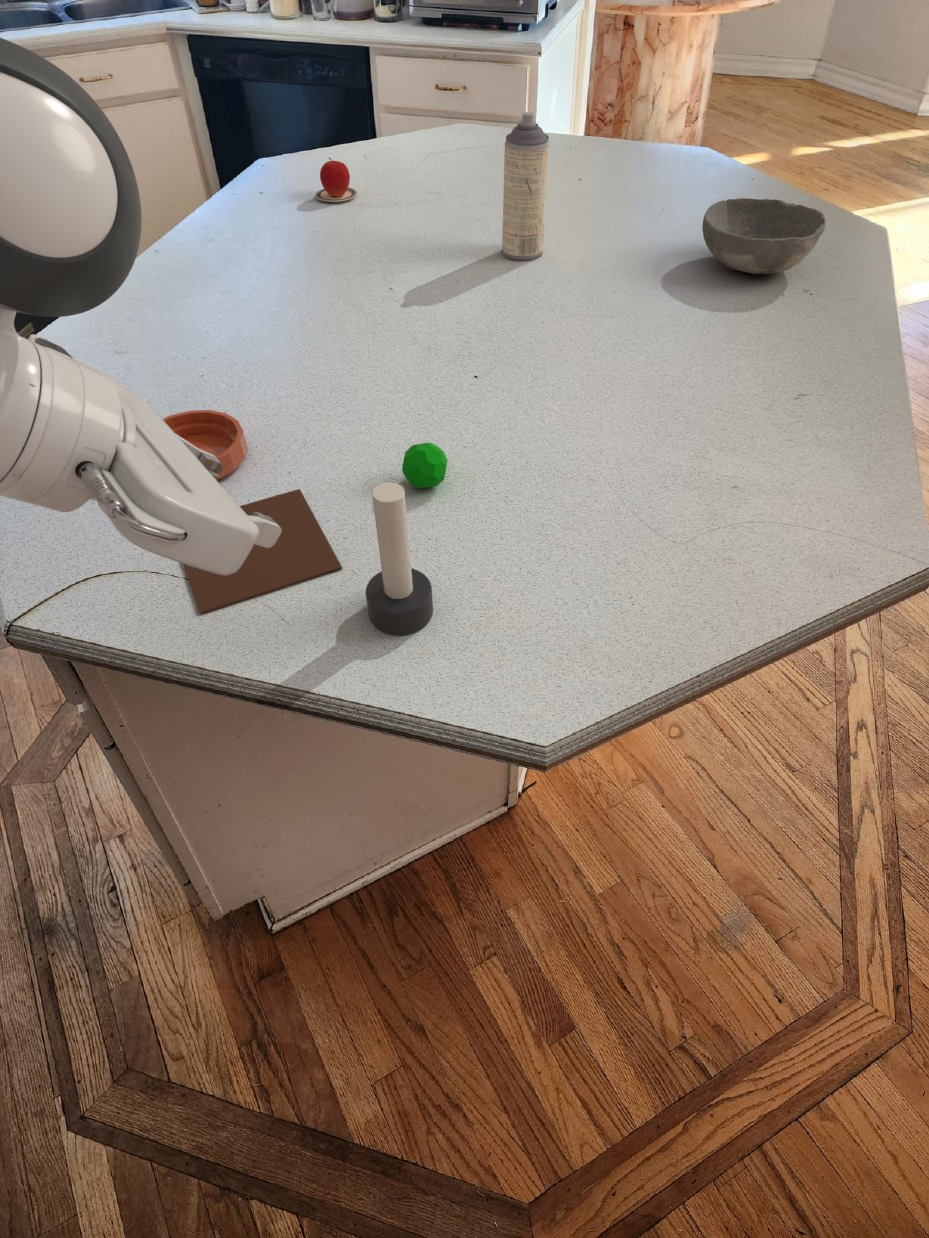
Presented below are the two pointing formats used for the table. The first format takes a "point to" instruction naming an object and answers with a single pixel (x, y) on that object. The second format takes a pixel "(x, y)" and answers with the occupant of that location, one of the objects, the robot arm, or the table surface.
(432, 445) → the polyhedron
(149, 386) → the table surface
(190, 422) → the dish
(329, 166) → the apple
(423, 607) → the brush
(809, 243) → the bowl
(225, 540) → the robot arm
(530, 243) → the aerosol can
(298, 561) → the board
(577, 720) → the table surface
